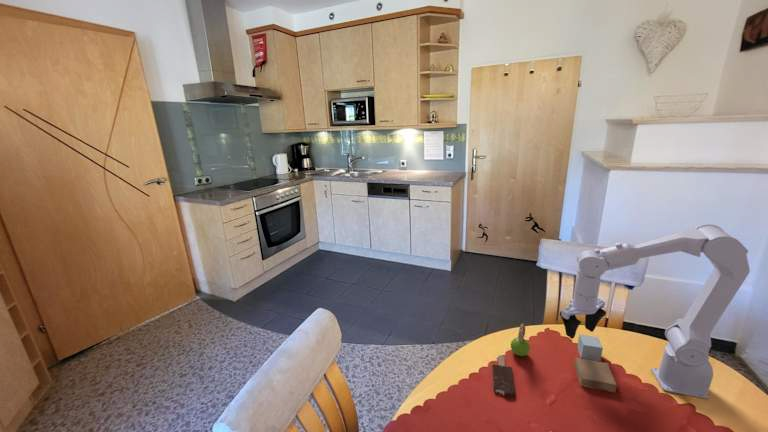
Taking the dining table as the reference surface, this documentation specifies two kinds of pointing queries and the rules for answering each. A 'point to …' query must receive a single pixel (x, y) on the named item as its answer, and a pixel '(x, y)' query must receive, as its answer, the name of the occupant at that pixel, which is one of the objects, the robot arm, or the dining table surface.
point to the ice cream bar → (503, 379)
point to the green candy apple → (520, 343)
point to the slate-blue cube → (589, 347)
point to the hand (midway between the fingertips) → (579, 332)
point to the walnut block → (595, 375)
